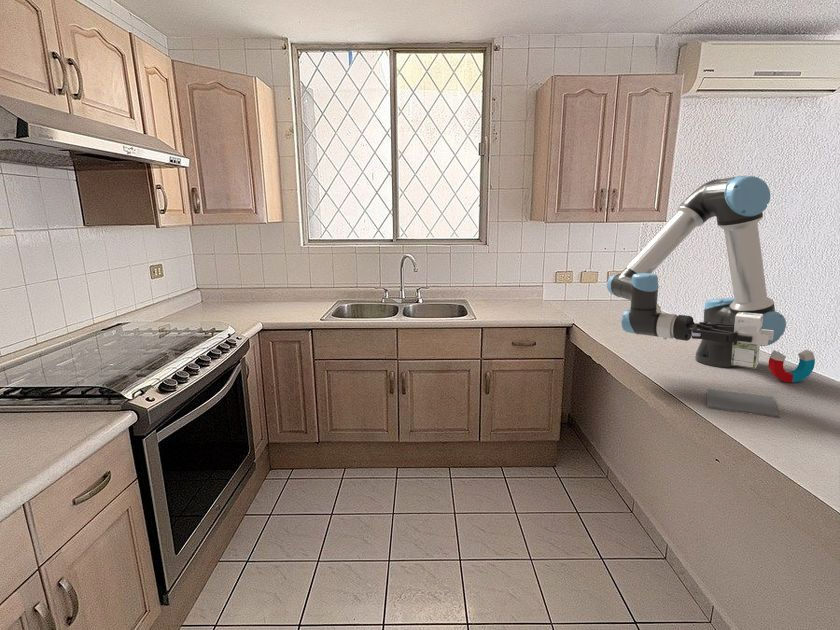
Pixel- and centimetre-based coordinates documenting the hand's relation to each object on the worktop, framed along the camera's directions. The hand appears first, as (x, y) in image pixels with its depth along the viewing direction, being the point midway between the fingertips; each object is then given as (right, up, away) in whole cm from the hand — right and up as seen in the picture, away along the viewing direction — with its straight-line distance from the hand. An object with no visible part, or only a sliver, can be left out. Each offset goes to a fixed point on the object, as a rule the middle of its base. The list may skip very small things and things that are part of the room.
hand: (770, 338), depth 122 cm
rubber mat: (-3, -19, +8) cm, 21 cm away
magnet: (+22, -15, +21) cm, 34 cm away
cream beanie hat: (+20, +3, +106) cm, 108 cm away
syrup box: (-3, -8, +5) cm, 10 cm away
